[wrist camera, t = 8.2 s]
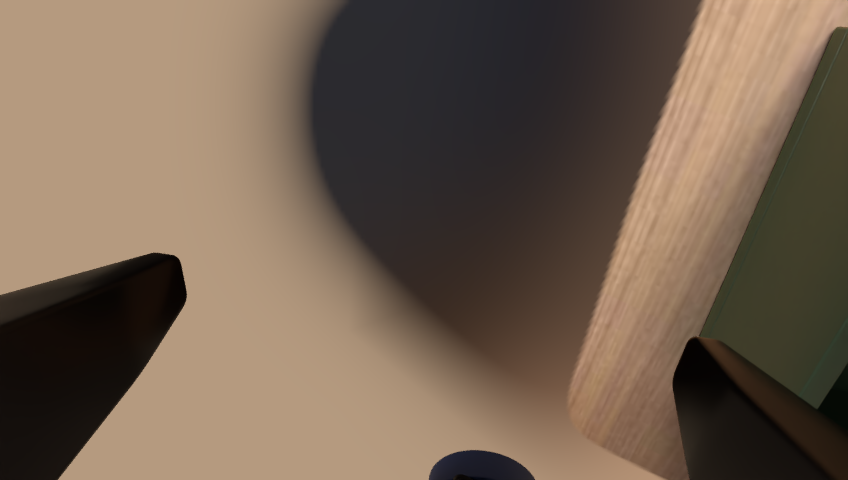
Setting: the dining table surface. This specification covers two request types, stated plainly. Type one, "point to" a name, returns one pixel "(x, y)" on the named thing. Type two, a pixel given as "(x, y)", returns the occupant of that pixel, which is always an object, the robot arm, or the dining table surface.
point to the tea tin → (799, 254)
